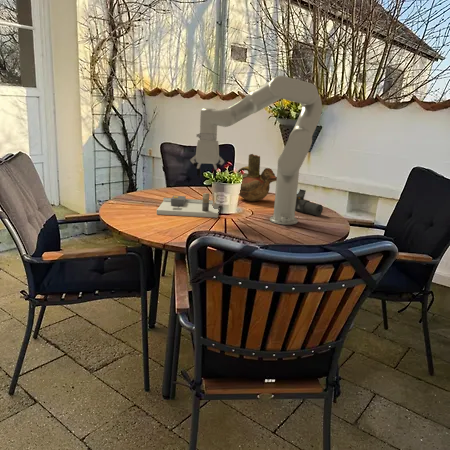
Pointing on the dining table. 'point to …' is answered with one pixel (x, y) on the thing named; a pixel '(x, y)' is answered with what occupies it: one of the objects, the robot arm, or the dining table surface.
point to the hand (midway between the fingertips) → (206, 177)
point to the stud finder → (178, 200)
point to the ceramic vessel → (256, 180)
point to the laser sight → (307, 205)
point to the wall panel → (187, 208)
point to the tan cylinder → (205, 202)
